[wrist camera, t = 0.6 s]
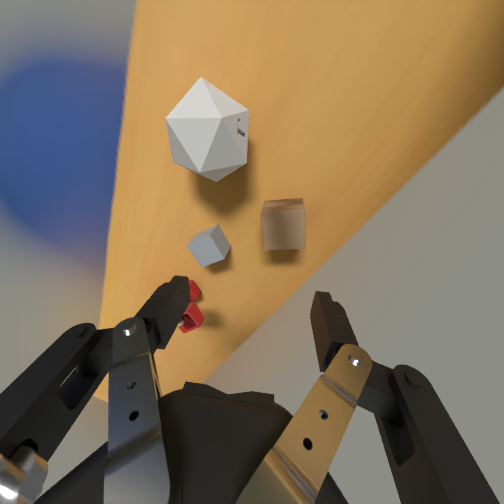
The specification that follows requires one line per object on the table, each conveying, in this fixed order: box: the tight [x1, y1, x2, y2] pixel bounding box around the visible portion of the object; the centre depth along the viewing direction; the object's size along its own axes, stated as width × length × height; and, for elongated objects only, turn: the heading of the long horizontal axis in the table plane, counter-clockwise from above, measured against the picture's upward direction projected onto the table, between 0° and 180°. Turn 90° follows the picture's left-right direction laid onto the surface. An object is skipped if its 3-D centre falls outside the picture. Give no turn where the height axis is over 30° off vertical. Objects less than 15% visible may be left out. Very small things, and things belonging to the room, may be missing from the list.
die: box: [166, 77, 249, 182], centre depth 21 cm, size 8×9×10 cm
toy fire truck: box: [177, 280, 205, 333], centre depth 34 cm, size 3×14×10 cm, turn 117°
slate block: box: [187, 224, 231, 267], centre depth 30 cm, size 4×4×4 cm
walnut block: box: [261, 198, 305, 250], centre depth 26 cm, size 5×5×5 cm
